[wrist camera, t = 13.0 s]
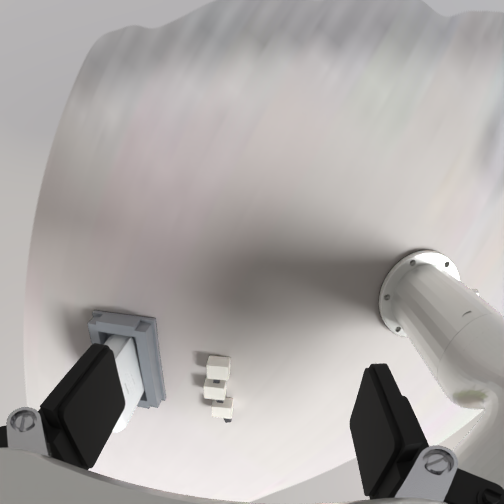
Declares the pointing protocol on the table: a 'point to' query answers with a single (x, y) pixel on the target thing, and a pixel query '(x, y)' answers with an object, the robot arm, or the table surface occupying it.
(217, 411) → the white cube chain
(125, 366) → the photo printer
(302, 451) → the table surface
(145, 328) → the end holder
